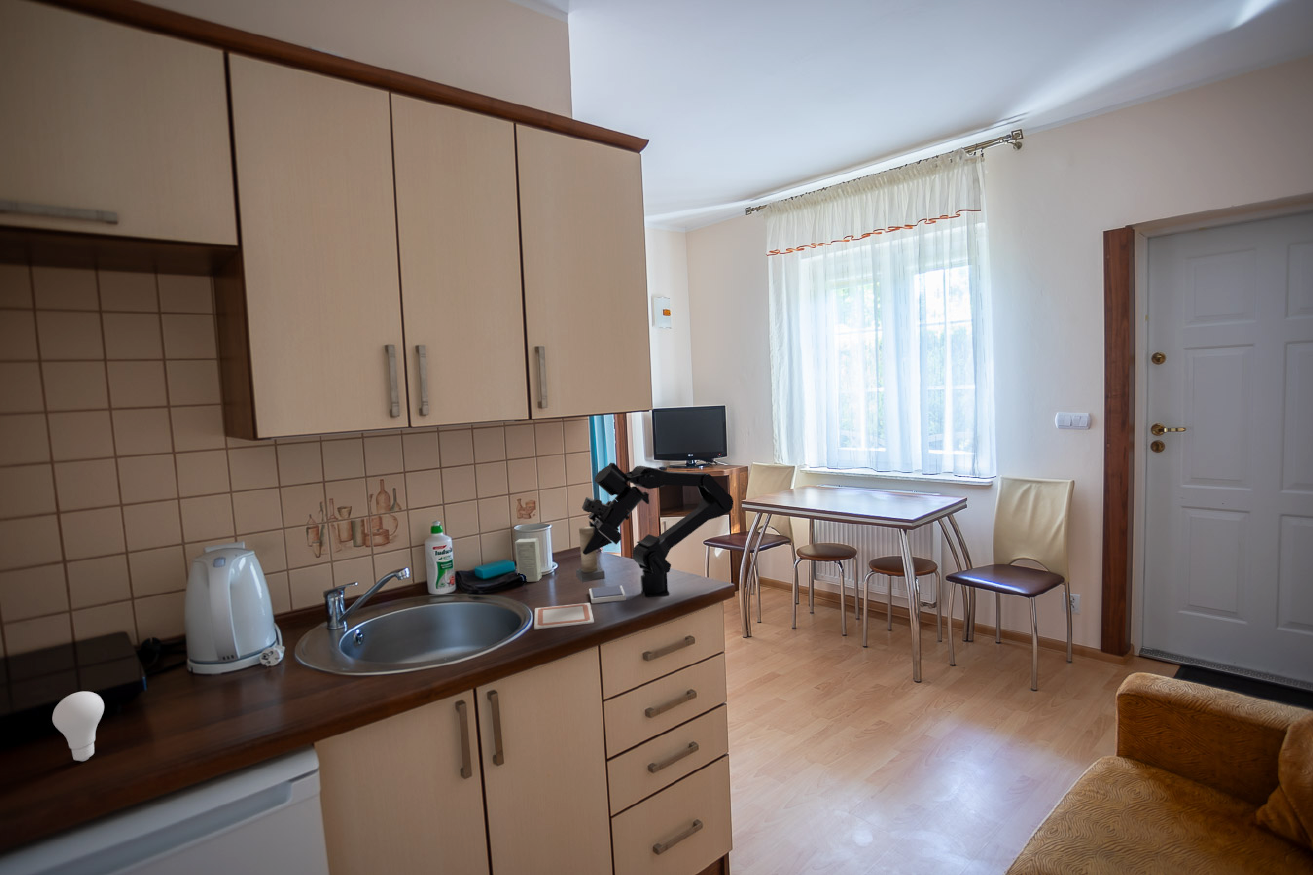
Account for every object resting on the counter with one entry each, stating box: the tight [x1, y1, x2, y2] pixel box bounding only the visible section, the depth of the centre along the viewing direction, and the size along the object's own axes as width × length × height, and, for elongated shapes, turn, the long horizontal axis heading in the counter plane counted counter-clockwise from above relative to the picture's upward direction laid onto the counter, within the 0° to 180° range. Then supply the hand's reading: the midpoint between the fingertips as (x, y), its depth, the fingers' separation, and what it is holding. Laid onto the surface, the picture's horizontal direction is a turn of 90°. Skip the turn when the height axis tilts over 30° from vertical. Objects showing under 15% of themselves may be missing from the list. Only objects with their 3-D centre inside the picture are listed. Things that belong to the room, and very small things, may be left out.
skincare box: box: [514, 537, 543, 583], centre depth 191 cm, size 6×4×12 cm
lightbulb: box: [52, 691, 105, 762], centre depth 102 cm, size 6×6×11 cm
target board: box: [533, 602, 595, 630], centre depth 159 cm, size 14×14×1 cm
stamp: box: [575, 526, 606, 584], centre depth 167 cm, size 6×6×13 cm
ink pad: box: [588, 585, 627, 604], centre depth 172 cm, size 9×9×2 cm
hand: (582, 551), depth 166 cm, fingers closed on stamp, 4 cm apart
